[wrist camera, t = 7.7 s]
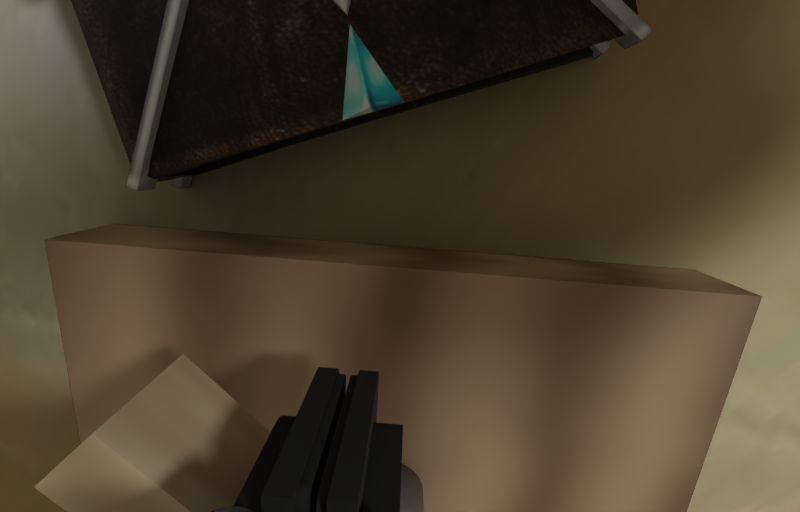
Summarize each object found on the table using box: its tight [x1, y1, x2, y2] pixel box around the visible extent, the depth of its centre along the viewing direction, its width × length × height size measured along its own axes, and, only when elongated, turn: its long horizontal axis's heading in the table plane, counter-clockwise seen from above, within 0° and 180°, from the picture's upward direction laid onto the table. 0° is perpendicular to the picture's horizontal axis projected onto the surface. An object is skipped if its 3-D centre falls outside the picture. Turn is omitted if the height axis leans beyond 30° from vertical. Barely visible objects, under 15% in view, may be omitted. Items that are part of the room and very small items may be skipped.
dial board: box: [45, 224, 762, 512], centre depth 16 cm, size 24×20×3 cm
